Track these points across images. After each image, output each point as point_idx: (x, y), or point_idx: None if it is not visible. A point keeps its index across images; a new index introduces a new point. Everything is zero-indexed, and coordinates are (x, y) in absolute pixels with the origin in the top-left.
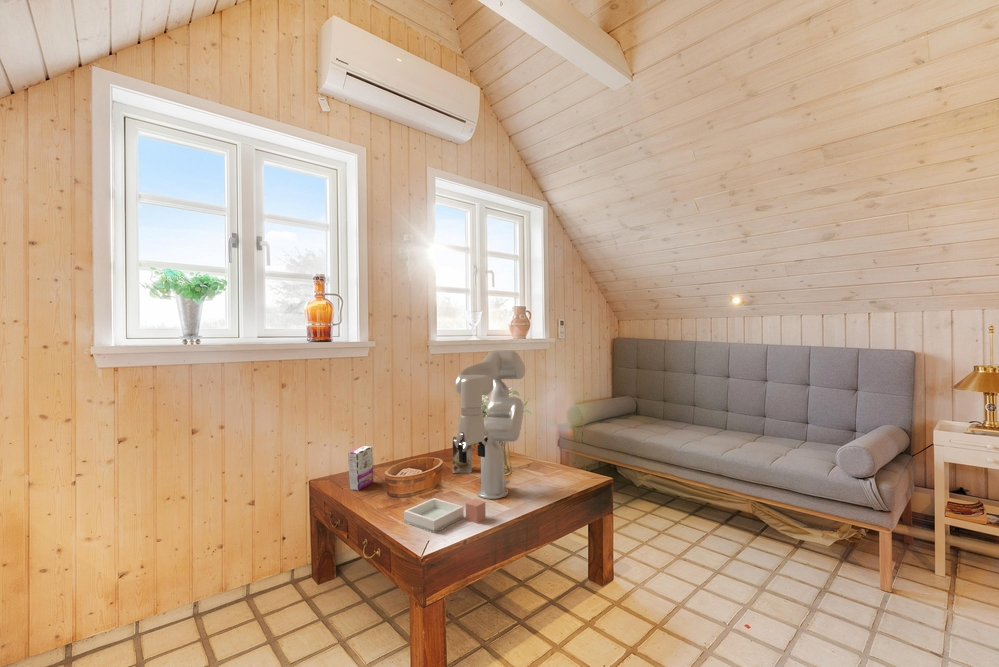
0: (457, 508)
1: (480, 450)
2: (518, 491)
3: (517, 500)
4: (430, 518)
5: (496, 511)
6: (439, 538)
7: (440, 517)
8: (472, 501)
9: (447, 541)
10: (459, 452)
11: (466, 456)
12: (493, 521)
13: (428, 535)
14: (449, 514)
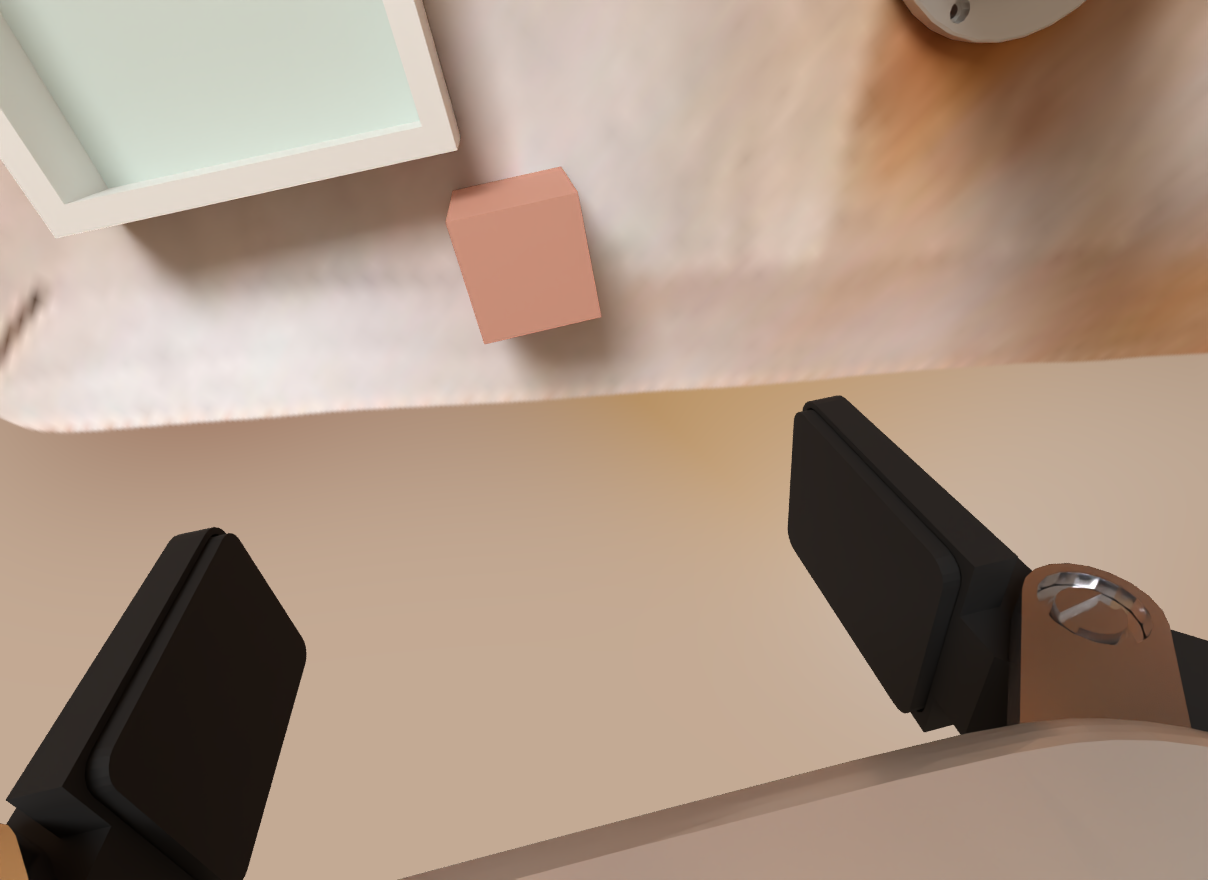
0: (383, 148)
1: (859, 560)
2: (1155, 27)
3: (967, 183)
4: (31, 160)
5: (717, 232)
6: (133, 315)
7: (145, 210)
8: (522, 231)
9: (177, 383)
10: (22, 822)
11: (263, 777)
12: (587, 345)
13: None
14: (265, 191)
